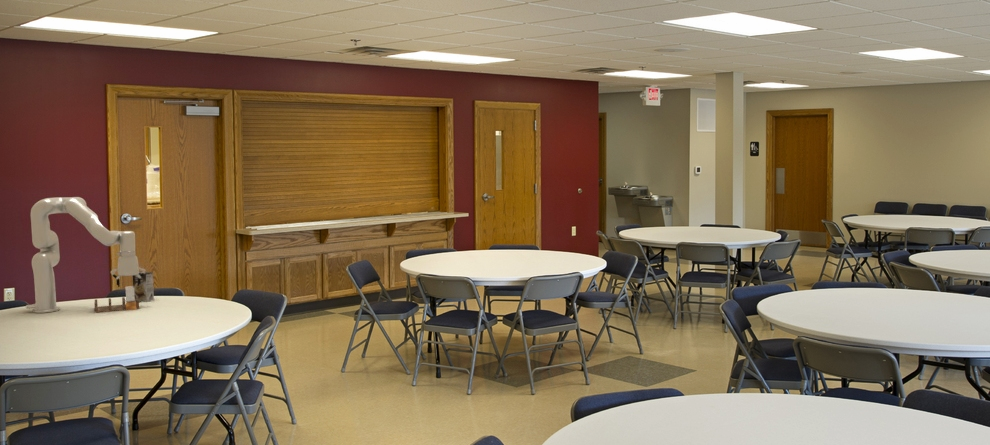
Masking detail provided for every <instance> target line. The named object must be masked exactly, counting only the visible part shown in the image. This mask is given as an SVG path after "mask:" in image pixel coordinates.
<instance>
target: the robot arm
mask: <svg viewBox="0 0 990 445" xmlns="http://www.w3.org/2000/svg"><path fill="white" fill-rule="evenodd" d="M53 214H69V215H70V216H72V217H73V218H74V219H75V220H76V221H78V222H79V223H80V224H82V225H83V227H85V229H86V230H87V231H88V232H89V234H90V235H91V236H92V237H93V238H94V239H96V240H97V241H99V242H100V243H101V244H102V245H104V246H106V247H112V246H115V245H119V252H117V253H116V254H117V256H119V257H118V260H117V261H118V262H117V268H114V269H112V270H110V274H111V275H112V277H113V278H114V279H116V286H117V287H118V288H119V287H121V286H120V284H121V283H120V278H121V277H128V276H129V277H130V276H132V277H133V275H136V276H137V277H138V286H139V284H141V279H140V278H141V277H142V276H143V275H144V273H145V272H147V270H146V269H145V268H142V267H140V265H139V259H138V256H137V255H136V234H135V231H133V230H124V231H121V230H109V229H107V228H106V227H105V226H104V225H103V224H102V223H101V222H100V220H99V216H98V214H97V213H95V211H93V210H92V209H90V208H89V206H87V201H86V200H85V199H84V198H82V197H80V196H72V197H70V196H69V197H60V196H59V197H47V198H46V197H45V198H43V199H40V200H39V201H37V202H36V203H34V205H32V207H31V209H30V223H31V224H30V225H31V240H32V245H33V246H34V247H35V249H39V252H37V253H36V254H34V255H33V256H32V258H31V268H32V271H33V279H34V280H33V282H34V295H35V296H34V297H35V298H34V299H35V303H33V304H26V305H25V306H26V307H25V308H26V309H27V310H28V309H29V310H30V309H32V313H33V314H34V313H36V314H43V313H44V314H45V313H52V312H57V311H60V307H59V306H57V296H56V295H57V294H56V279H55V272H54V268H53V267H55V266H57V265H58V264H59V262H60V259H61V258H60V257H61V256H60V243H59V237H58V235H57V233H56V232H55V231H53V230H51V226H50V225H51V223H50V219H49V215H53ZM116 272H117V275H116V274H115V273H116ZM139 272H142V273H141V274H140V275H139Z"/></svg>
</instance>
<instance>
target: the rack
mask: <svg viewBox="0 0 990 445" xmlns="http://www.w3.org/2000/svg"><path fill="white" fill-rule="evenodd" d="M121 300H122V302H121V303H122V304H116V305H115V304H114V305H112V298H108V305H102V306H99V305H98V299H96V298H95V299H94V313H95V314H97V313H109V312H112V313H113V312H121V311H122V312H123V311H133V310H136V311H137V310H140V302H139V298H138V296H136V301H135V302H129V303H126V296H123V297H121Z"/></svg>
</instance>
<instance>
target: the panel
mask: <svg viewBox="0 0 990 445" xmlns="http://www.w3.org/2000/svg"><path fill="white" fill-rule="evenodd" d="M129 302H136V301H135V295H134V286H133V285H130V286H125V304H126V303H129Z"/></svg>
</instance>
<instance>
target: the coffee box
mask: <svg viewBox="0 0 990 445" xmlns="http://www.w3.org/2000/svg"><path fill="white" fill-rule="evenodd" d="M142 272H143V271H139V275H140V274H141V273H142ZM140 279H141V284H139V286H138V277H137V276H136V275H133V276H132V286H134V295H135V302H136V296H138V298H139V301H140V302H141V301H142V302H144V303H148V302H151V301H154V300H155V298H154V297H155V296H154V295H155V293H154V292H155V291H154V272H152V271H146V272H145V273H144V275H143V276H142V277H141V278H140ZM140 302H139V303H140ZM142 302H141V303H142Z"/></svg>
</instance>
